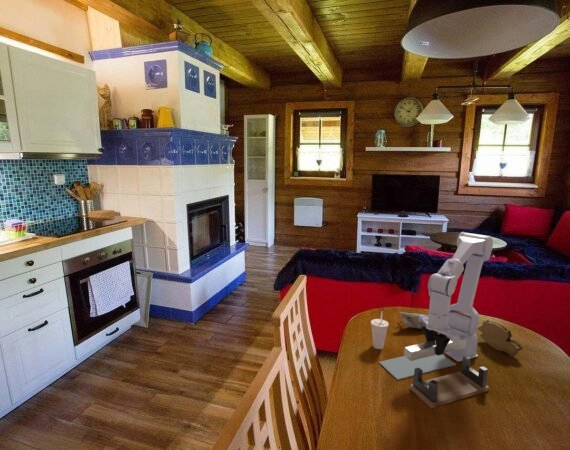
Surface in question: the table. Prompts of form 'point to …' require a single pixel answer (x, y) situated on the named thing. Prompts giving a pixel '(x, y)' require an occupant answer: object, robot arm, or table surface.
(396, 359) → the mat
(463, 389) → the rack
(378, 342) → the smoothie
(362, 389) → the table surface
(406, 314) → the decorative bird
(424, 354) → the rail
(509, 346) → the wooden carving
